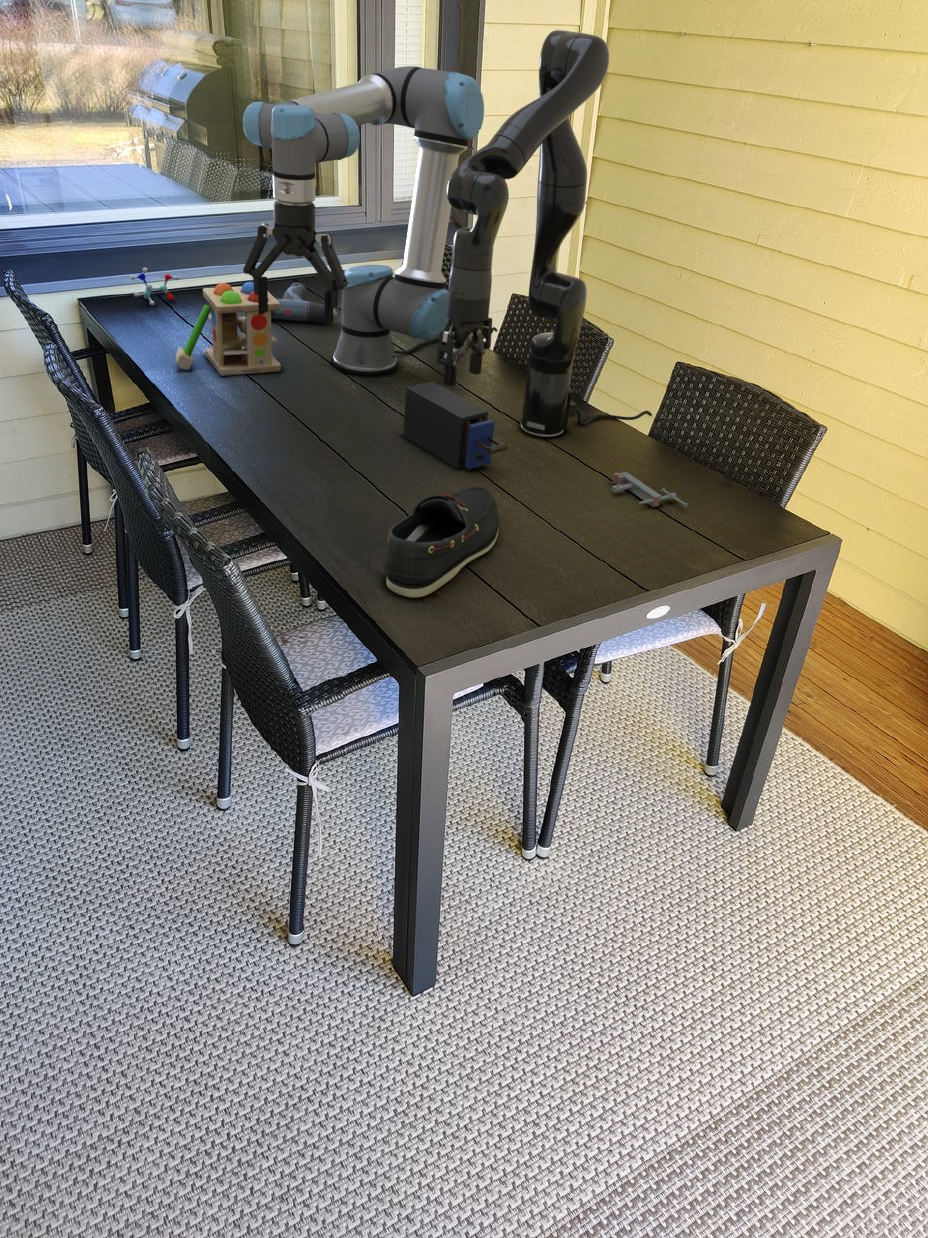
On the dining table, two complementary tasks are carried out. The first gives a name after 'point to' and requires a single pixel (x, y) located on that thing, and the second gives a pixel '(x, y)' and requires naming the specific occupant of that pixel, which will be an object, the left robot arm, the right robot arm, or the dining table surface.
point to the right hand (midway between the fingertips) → (462, 379)
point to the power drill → (299, 306)
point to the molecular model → (150, 289)
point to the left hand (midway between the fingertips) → (296, 318)
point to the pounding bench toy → (235, 332)
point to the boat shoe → (440, 540)
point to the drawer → (479, 443)
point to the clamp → (623, 484)
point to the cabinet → (438, 420)
